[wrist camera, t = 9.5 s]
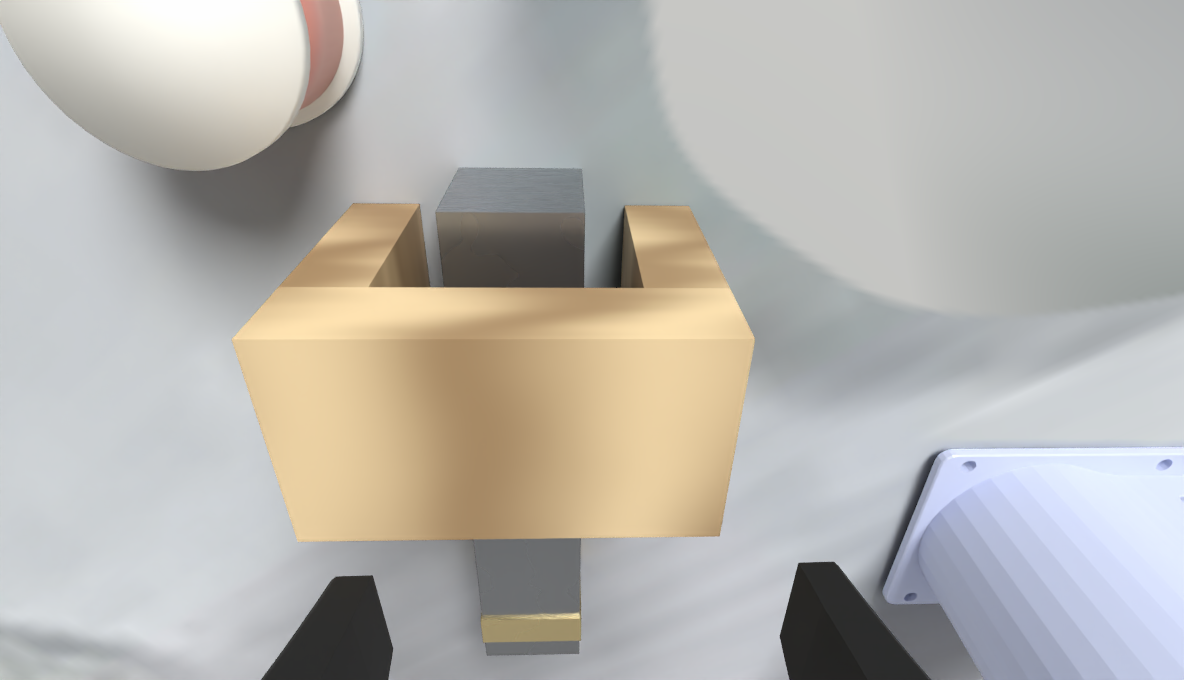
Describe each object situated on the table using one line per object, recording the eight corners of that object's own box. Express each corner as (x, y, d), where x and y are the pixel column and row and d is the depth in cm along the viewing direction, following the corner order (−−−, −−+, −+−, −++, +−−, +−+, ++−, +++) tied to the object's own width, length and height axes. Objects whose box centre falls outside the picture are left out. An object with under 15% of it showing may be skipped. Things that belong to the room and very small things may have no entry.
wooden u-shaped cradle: (689, 206, 17) (754, 339, 11) (673, 360, 20) (719, 536, 14) (353, 203, 17) (231, 339, 11) (381, 360, 19) (297, 541, 13)
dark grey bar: (583, 168, 16) (587, 214, 13) (579, 572, 25) (580, 656, 22) (456, 167, 16) (432, 213, 13) (495, 573, 25) (484, 658, 22)
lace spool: (341, -122, 13) (260, -151, 10) (379, 126, 16) (326, 171, 12) (95, -128, 13) (-79, -161, 9) (174, 123, 15) (62, 169, 12)
